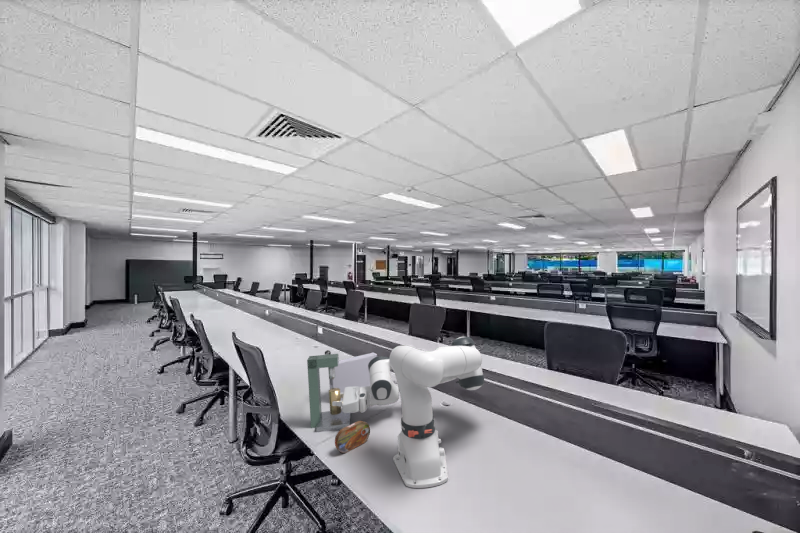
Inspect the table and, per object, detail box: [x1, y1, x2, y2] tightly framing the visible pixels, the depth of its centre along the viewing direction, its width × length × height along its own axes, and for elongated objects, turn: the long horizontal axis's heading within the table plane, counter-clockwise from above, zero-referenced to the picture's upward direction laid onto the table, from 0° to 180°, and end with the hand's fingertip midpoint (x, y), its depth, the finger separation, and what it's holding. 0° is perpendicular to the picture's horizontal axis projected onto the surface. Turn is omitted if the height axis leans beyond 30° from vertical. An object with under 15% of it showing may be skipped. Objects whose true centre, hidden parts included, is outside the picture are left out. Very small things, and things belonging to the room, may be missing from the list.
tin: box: [334, 420, 371, 454], centre depth 120 cm, size 15×3×8 cm, turn 132°
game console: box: [328, 352, 378, 400], centre depth 169 cm, size 6×27×20 cm, turn 124°
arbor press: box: [306, 350, 352, 433], centre depth 143 cm, size 21×17×30 cm
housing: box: [328, 388, 342, 415], centre depth 140 cm, size 5×5×10 cm
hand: (333, 400), depth 140 cm, fingers closed on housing, 5 cm apart
